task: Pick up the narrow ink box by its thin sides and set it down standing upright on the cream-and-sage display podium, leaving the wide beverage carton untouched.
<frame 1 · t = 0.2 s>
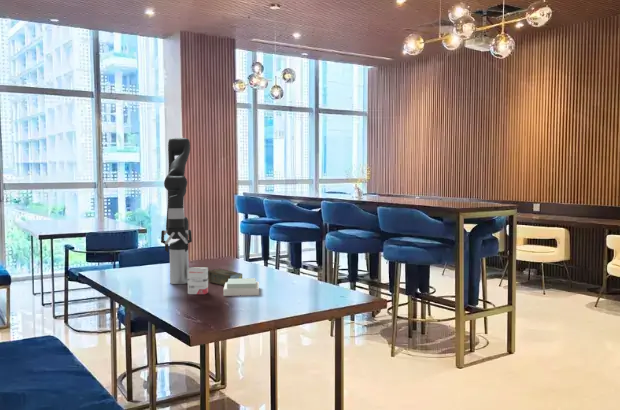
hand: (176, 251, 267), 18 cm above the table, tool pointing down, fingers open, 8 cm apart
ink box: (198, 293, 258), on the table
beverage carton: (225, 284, 281), on the table
display podium: (241, 291, 260), on the table
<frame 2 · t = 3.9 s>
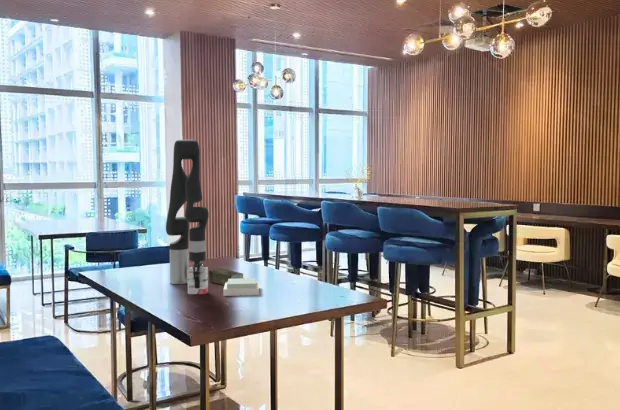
hand: (197, 286, 257), 3 cm above the table, tool pointing down, fingers closed on ink box, 5 cm apart
ink box: (198, 293, 258), on the table, touching gripper
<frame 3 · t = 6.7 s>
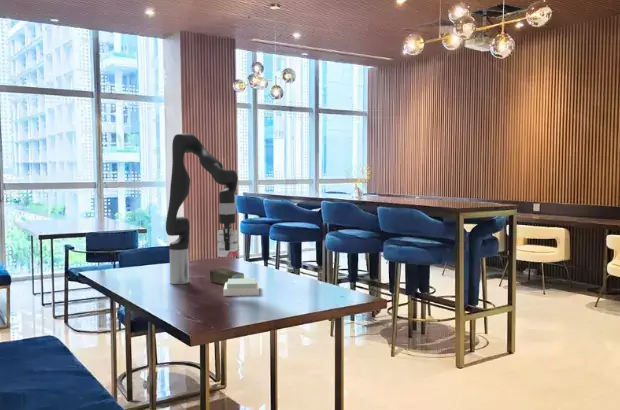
hand: (227, 249, 258), 20 cm above the table, tool pointing down, fingers closed on ink box, 5 cm apart
ink box: (227, 256, 258), point 17 cm above the table, touching gripper
when the fingers open (9 cm above the table, at t = 9.9 s): ink box drops 1 cm, resting on display podium.
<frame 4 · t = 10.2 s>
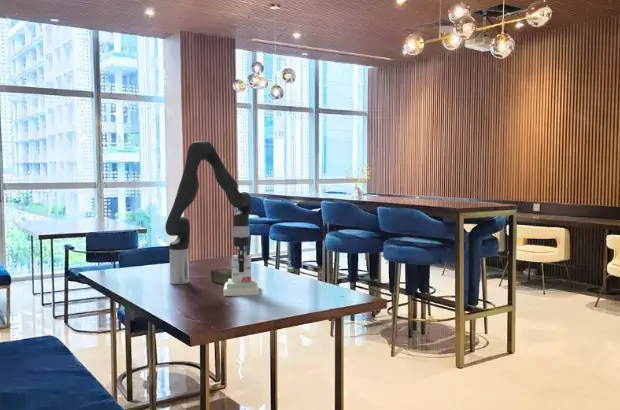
hand: (241, 270, 260), 10 cm above the table, tool pointing down, fingers open, 7 cm apart
ink box: (241, 281, 261), point 5 cm above the table, touching display podium
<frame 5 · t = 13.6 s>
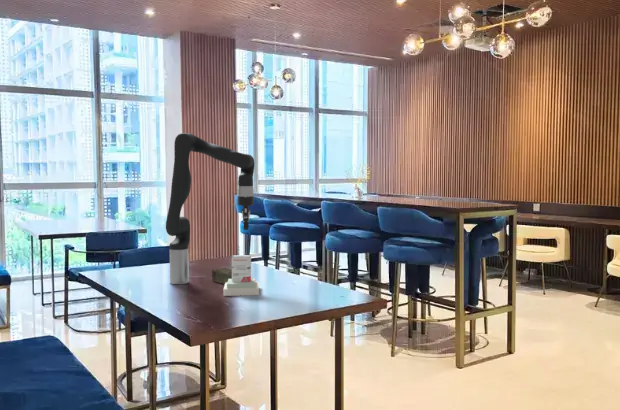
hand: (246, 228, 272), 28 cm above the table, tool pointing down, fingers open, 8 cm apart
at the end: ink box inside the target area on the display podium (0.5 cm from its centre), point 4.8 cm above the display podium's base; ink box tilted 0°; the gripper is holding nothing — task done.
